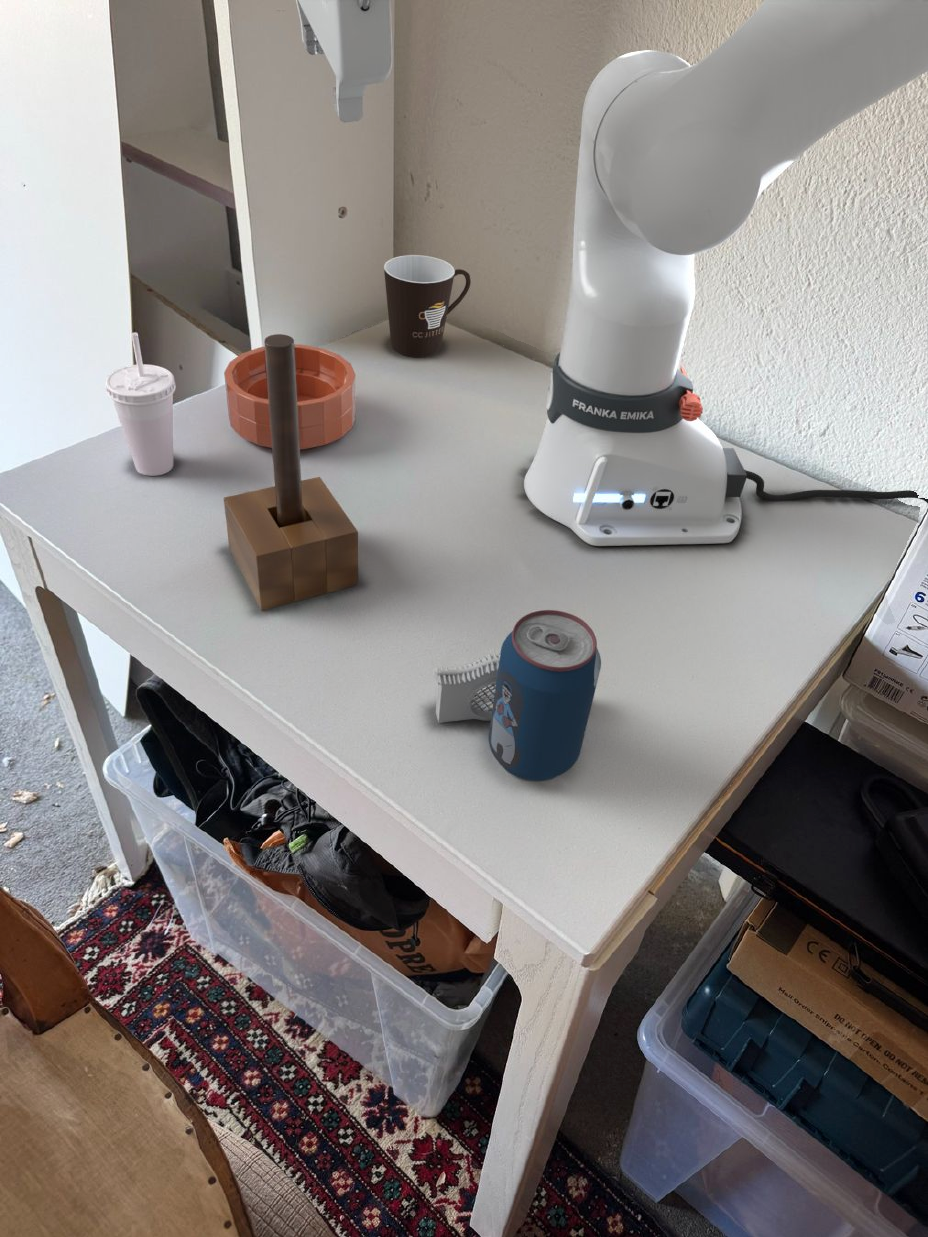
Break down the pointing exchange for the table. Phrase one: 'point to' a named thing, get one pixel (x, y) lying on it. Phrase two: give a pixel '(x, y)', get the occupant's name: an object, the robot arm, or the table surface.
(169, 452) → the smoothie
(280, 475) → the stick
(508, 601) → the table surface
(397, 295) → the coffee mug
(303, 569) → the stand
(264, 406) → the bowl
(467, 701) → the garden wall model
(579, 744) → the soda can
